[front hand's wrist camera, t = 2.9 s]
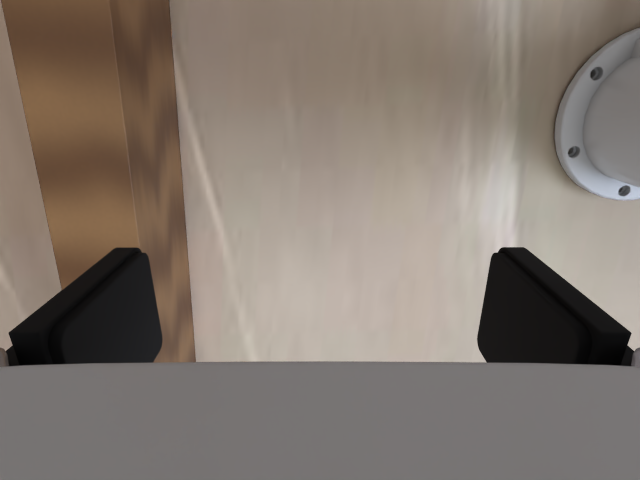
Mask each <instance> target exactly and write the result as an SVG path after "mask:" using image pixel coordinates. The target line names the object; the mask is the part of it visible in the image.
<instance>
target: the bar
mask: <svg viewBox="0 0 640 480" xmlns="http://www.w3.org/2000/svg"><path fill="white" fill-rule="evenodd" d="M1 2H2V7H3V12H4V16H5V21H6V26H7V31H8V35H9V40H10V45H11V50H12V55H13V59H14V64H15V69H16V74H17V78H18V83H19V88H20V93H21V97H22V102H23V107H24V112H25V116H26V121H27V126H28V131H29V135H30V140H31V145H32V150H33V154H34V159H35V164H36V169H37V173H38V178H39V183H40V188H41V192H42V197H43V202H44V207H45V211H46V216H47V221H48V226H49V230H50V235H51V240H52V245H53V249H54V254H55V259H56V264H57V268H58V273H59V278H60V283H61V287H62V290H63V289H64V288H65V287H67V286H68V285H69V284H70V283H72V282H73V281H74V280H75V279H77V278H78V277H79V276H80V275H82V274H83V273H84V272H85V271H87V270H88V269H89V268H90V267H92V266H93V265H94V264H95V263H97V262H98V261H99V260H100V259H102V258H103V257H104V256H105V255H107V254H108V253H109V252H110V251H112V250H113V249H114V248H116V247H136V248H139V249H140V250H141V251H142V253H146V254H147V255H148V257H149V262H150V268H151V273H152V279H153V285H154V291H155V296H156V302H157V308H158V314H159V319H160V325H161V331H162V338H163V342H162V347H161V350H160V352H159V353H158V355H157V357H156V358H155V360H154V362H153V363H171V362H196V359H195V346H194V332H193V319H192V305H191V292H190V279H189V265H188V252H187V238H186V225H185V211H184V198H183V184H182V171H181V158H180V144H179V131H178V117H177V104H176V90H175V77H174V64H173V50H172V37H171V23H170V10H169V0H1Z"/></svg>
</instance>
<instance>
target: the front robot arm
mask: <svg viewBox="0 0 640 480" xmlns="http://www.w3.org/2000/svg"><path fill="white" fill-rule="evenodd" d="M591 71H592V75H591V76H590V73H591ZM554 137H555V145H556V152H557V155H558V158H559V161H560V163H561V166H562V167H563V169H564V170H565V172H566V173H567V175H568V176H569V177H570V178H571V179H572V180H573V181H574V182H575V183H576V184H577V185H578V186H580V187H582V188H583V189H585V190H587V191H588V192H590V193H593V194H596V195H598V196H601V197H604V198H609V199H613V200H636V199H640V27H639V28H637V29H634V30H632V31H629V32H627V33H624V34H622V35H620V36H619V37H617V38H615V39H614V40H612V41H610V42H609V43H607V44H606V45H605V46H603V47H602V48H601V49H600V50H598V51H597V52H596V53H595V54H594V55H592V56H591V57H590V58H589V60H588V61H587V62H586V63H585V64H584V65H583V66H582V67H581V69H580V70H579V71H578V72H577V74H576V75H575V77H574V78H573V80H572V81H571V83H570V84H569V86H568V87H567V90H566V92H565V94H564V96H563V99H562V101H561V103H560V106H559V110H558V114H557V118H556V124H555V136H554ZM569 149H570V151H569ZM568 151H569V152H568ZM9 336H10V339H11V342H12V344H13V346H11V347H10V348H9V349H8V350H7V351H5V350H4V349H3V348H0V480H640V348H637V349H636V350H635V351H633V350H632V349H631V348H630V347H629V346H627V344H628V342H629V339H630V336H631V332H630V331H628V330H627V329H626V328H625V327H623V326H622V325H621V324H620V323H618V322H617V321H616V320H615V319H613V318H612V317H611V316H610V315H608V314H607V313H606V312H605V311H603V310H602V309H601V308H600V307H598V306H597V305H596V304H595V303H593V302H592V301H591V300H590V299H588V298H587V297H586V296H585V295H583V294H582V293H581V292H580V291H578V290H577V289H576V288H575V287H573V286H572V285H571V284H570V283H568V282H567V281H566V280H565V279H563V278H562V277H561V276H560V275H558V274H557V273H556V272H555V271H553V270H552V269H551V268H550V267H548V266H547V265H546V264H545V263H543V262H542V261H541V260H540V259H538V258H537V257H536V256H535V255H533V254H532V253H531V252H530V251H528V250H527V249H526V248H524V247H504V248H501V249H500V250H499V251H498V253H494V254H493V255H492V257H491V262H490V267H489V273H488V279H487V285H486V291H485V296H484V302H483V308H482V314H481V319H480V325H479V331H478V338H477V342H478V347H479V350H480V352H481V353H482V355H483V357H484V358H485V360H486V362H487V363H467V362H171V363H153V362H154V360H155V358H156V357H157V355H158V353H159V352H160V350H161V347H162V342H163V338H162V331H161V325H160V319H159V314H158V308H157V302H156V296H155V291H154V285H153V279H152V273H151V268H150V262H149V257H148V255H147V254H146V253H142V251H141V250H140V249H139V248H136V247H116V248H114V249H113V250H112V251H110V252H109V253H108V254H107V255H105V256H104V257H103V258H102V259H100V260H99V261H98V262H97V263H95V264H94V265H93V266H92V267H90V268H89V269H88V270H87V271H85V272H84V273H83V274H82V275H80V276H79V277H78V278H77V279H75V280H74V281H73V282H72V283H70V284H69V285H68V286H67V287H65V288H64V289H63V290H62V291H60V292H59V293H58V294H57V295H55V296H54V297H53V298H52V299H50V300H49V301H48V302H47V303H45V304H44V305H43V306H42V307H40V308H39V309H38V310H37V311H35V312H34V313H33V314H32V315H30V316H29V317H28V318H27V319H25V320H24V321H23V322H22V323H20V324H19V325H18V326H17V327H15V328H14V329H13V330H12V331H10V332H9Z"/></svg>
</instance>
